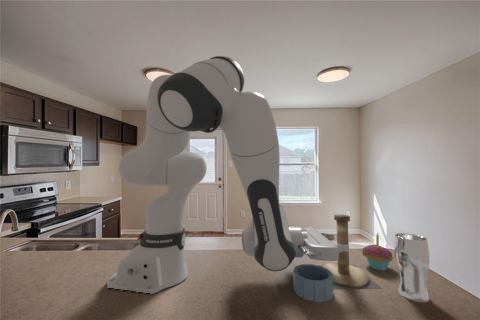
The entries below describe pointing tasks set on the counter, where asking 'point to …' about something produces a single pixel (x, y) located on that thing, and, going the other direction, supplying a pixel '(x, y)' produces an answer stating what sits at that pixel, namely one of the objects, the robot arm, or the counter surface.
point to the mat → (369, 286)
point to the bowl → (313, 283)
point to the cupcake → (377, 255)
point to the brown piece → (345, 260)
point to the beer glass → (412, 265)
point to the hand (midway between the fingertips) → (340, 241)
